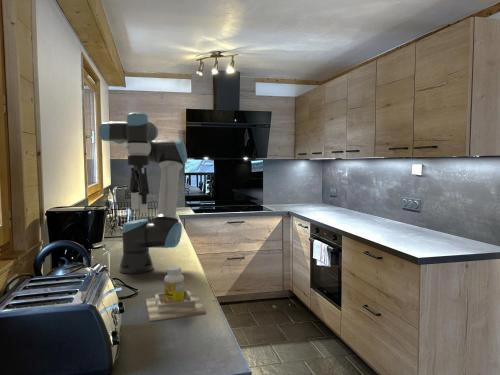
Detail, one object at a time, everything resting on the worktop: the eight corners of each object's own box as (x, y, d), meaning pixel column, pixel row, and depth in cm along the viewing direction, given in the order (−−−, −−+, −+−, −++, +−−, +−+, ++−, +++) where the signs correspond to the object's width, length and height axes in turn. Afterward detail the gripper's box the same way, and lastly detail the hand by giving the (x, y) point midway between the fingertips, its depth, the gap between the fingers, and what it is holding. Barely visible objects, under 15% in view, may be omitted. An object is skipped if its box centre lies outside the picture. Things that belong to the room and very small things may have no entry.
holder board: (145, 301, 137) (145, 292, 136) (195, 295, 143) (195, 286, 142) (149, 320, 120) (149, 310, 120) (205, 313, 126) (205, 303, 125)
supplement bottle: (160, 304, 131) (160, 267, 130) (177, 299, 136) (176, 264, 135) (171, 309, 126) (171, 271, 125) (188, 304, 131) (187, 267, 130)
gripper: (121, 155, 152) (122, 208, 153) (135, 153, 130) (136, 215, 131) (140, 155, 155) (141, 207, 156) (157, 154, 133) (158, 214, 135)
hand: (139, 211), depth 144 cm, fingers open, 13 cm apart
